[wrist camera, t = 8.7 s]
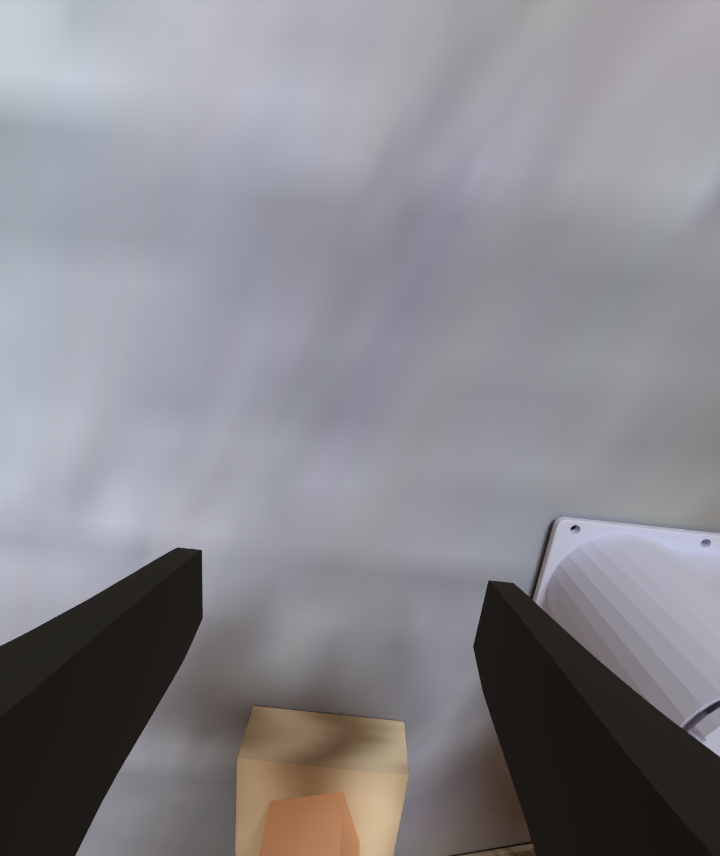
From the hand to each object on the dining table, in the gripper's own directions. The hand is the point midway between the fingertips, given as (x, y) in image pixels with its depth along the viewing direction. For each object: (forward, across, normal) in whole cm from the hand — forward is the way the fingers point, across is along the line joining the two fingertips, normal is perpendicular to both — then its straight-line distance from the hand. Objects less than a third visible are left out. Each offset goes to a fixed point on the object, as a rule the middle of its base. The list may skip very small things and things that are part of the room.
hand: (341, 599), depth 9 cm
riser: (+10, 0, +23) cm, 25 cm away
